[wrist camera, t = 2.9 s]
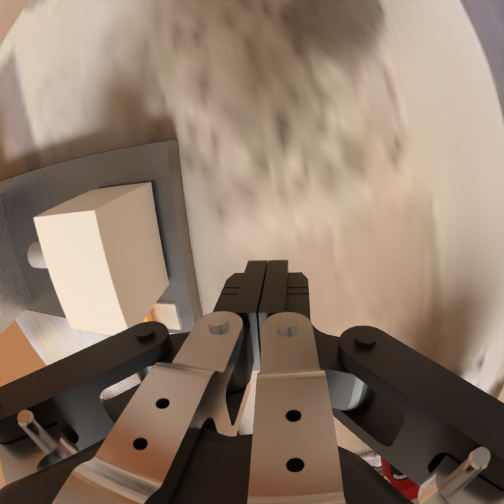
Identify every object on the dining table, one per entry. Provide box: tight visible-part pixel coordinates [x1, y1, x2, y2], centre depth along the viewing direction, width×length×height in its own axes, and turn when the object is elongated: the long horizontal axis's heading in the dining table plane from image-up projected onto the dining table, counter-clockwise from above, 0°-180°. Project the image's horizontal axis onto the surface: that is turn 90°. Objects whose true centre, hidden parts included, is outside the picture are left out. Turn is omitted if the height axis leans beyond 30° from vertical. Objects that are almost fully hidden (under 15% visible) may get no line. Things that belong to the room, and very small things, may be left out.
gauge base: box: [0, 140, 203, 334], centre depth 16 cm, size 12×20×8 cm, turn 94°
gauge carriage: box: [27, 182, 169, 335], centre depth 15 cm, size 10×8×5 cm
